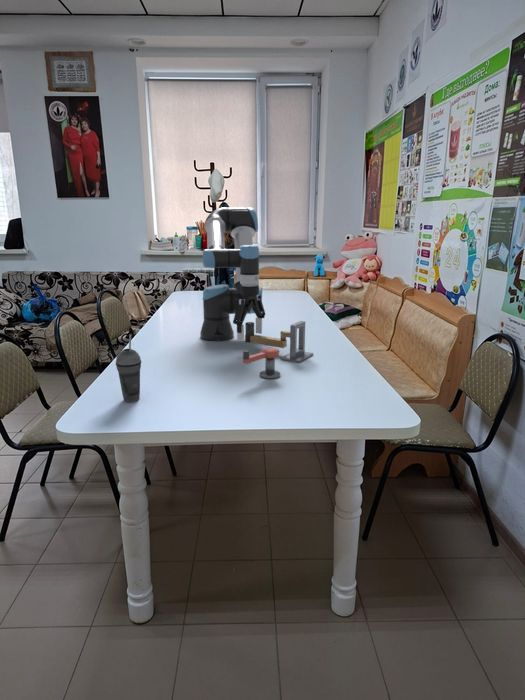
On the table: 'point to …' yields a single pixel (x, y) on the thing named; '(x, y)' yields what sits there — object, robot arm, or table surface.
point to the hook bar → (263, 339)
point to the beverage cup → (129, 373)
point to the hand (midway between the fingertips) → (250, 336)
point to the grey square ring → (295, 353)
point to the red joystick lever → (260, 355)
